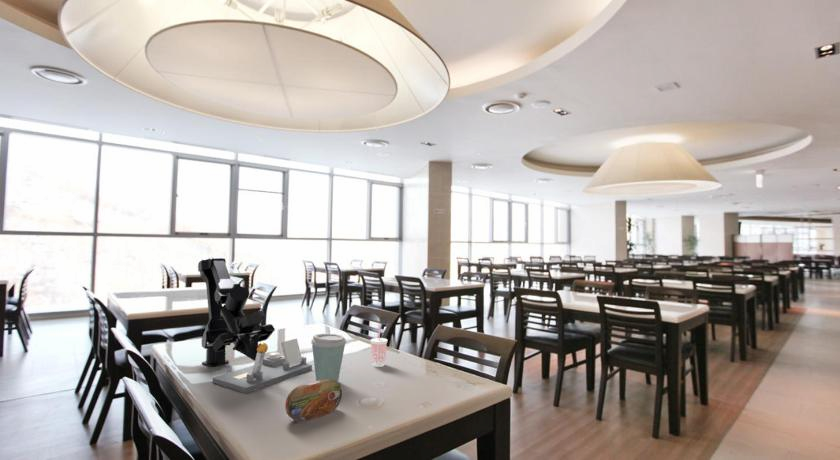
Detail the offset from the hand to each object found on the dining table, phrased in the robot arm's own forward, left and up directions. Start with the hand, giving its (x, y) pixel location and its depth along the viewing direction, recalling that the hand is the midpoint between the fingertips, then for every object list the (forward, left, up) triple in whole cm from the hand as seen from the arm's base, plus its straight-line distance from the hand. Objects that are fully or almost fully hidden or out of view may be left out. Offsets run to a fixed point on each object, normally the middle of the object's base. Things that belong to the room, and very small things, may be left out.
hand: (257, 359), depth 124 cm
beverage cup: (+19, +37, -8) cm, 42 cm away
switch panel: (-5, +7, -8) cm, 12 cm away
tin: (+30, -6, -8) cm, 32 cm away
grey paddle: (-1, +16, -6) cm, 17 cm away
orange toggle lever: (-1, 0, -6) cm, 6 cm away
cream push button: (-9, +14, -5) cm, 17 cm away
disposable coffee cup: (+17, +13, -8) cm, 23 cm away
